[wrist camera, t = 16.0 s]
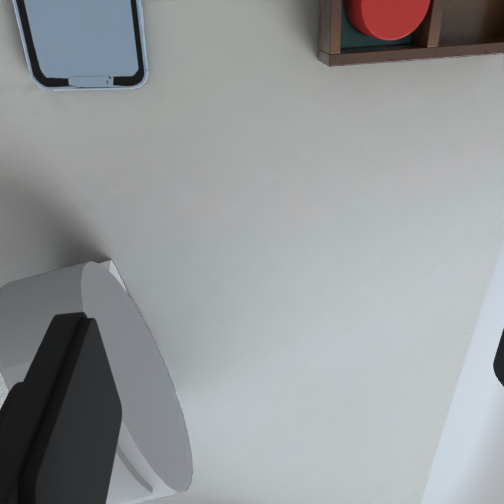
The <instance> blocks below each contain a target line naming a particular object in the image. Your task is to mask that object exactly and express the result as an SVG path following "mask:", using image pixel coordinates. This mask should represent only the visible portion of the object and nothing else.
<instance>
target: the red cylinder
mask: <svg viewBox="0 0 504 504" xmlns="http://www.w3.org/2000/svg"><path fill="white" fill-rule="evenodd" d="M429 4H430V0H344V9H345V14H346V17H347V20H348V22H349V23H350V25H351V26H352V27H353V28H354V29H355V30H356V31H357V32H359V33H361V34H363V35H367V36H371V37H375V38H379V39H383V40H397V39H400V38H403V37H405V36H407V35H408V34H410V33H411V32H412V31H414V30H415V29H416V28H417V27H418V25H419V24H420V23H421V22H422V20H423V19H424V17H425V15H426V13H427V10H428V7H429Z"/></svg>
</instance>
